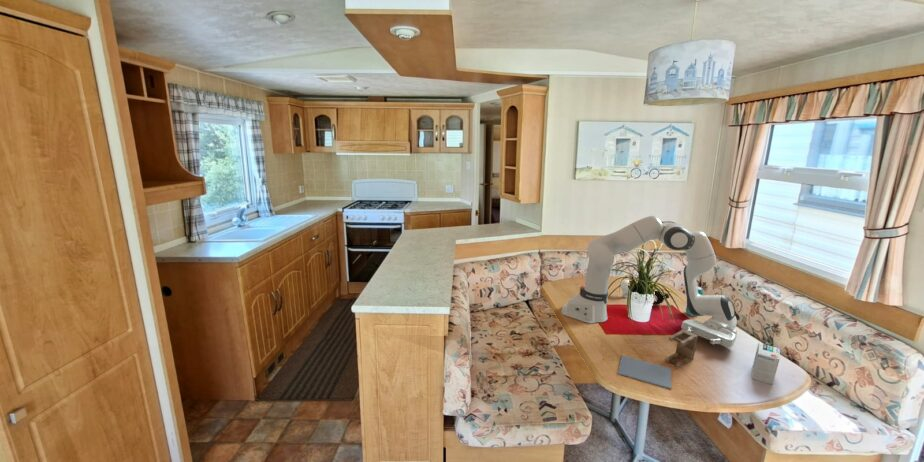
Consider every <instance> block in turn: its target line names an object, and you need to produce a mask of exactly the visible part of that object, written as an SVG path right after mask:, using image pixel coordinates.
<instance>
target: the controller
mask: <svg viewBox="0 0 924 462" xmlns="http://www.w3.org/2000/svg"><path fill="white" fill-rule="evenodd" d="M664 293H665V296H666V299H669V298H670V295H669V293H667V292H664ZM654 297H656V300H655V301H654V304H653V305H660V304H662V303H664V300H666V299H664V298H663V296H662V295H661V294H660V292H659V291H655V295H654Z"/></svg>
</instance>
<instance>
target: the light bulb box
mask: <svg viewBox="0 0 924 462" xmlns="http://www.w3.org/2000/svg"><path fill="white" fill-rule="evenodd" d="M780 353H781V349H780V348H779V347H776V346H772V345H768V344H765V343H762V342H758V344H757V347H756V351H755V356H754V359H753V363H752V369H751V379H755V380H757V381H761V382H763V383H766V384H769V385H772V386H773V384H774V381H775V377H776V374H777V370H778V366H779V363H780V360H781V357H780V356H781V354H780Z"/></svg>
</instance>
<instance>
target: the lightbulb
mask: <svg viewBox="0 0 924 462" xmlns="http://www.w3.org/2000/svg"><path fill="white" fill-rule="evenodd" d="M629 280H630V279H622V280H621V282H620V283H619V284H620V285H621V286H620V289H621V290H622V298H624V299H626V298H628V296H627V294H628V295H629V292H628V283H629Z"/></svg>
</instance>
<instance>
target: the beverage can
mask: <svg viewBox="0 0 924 462" xmlns="http://www.w3.org/2000/svg"><path fill="white" fill-rule="evenodd" d="M697 290H698V293H699V294H700V295H703V292H704V291H703V287H701V286H699V285H697ZM685 310H686V311H685V312H686V314H687V315H688V316H691V317H695V316H694V315H693V314H692V313H690V312H689V310H688V309H687V306H686V308H685Z"/></svg>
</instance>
